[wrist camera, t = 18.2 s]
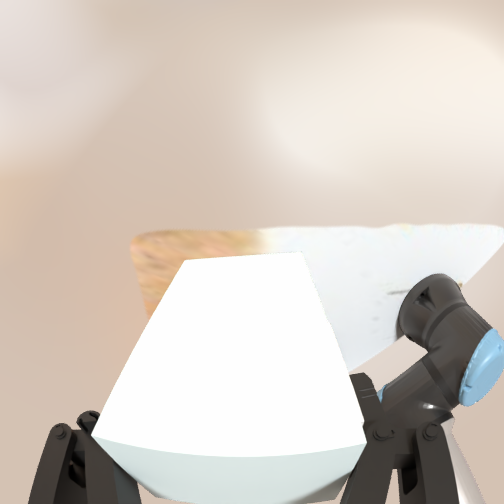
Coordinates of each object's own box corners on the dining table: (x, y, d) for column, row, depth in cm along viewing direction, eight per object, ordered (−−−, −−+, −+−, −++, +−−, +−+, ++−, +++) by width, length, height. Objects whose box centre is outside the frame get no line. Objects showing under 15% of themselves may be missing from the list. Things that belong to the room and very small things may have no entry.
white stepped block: (185, 260, 19) (91, 435, 6) (301, 251, 19) (366, 442, 5) (229, 437, 27) (220, 539, 14) (297, 434, 27) (306, 538, 14)
